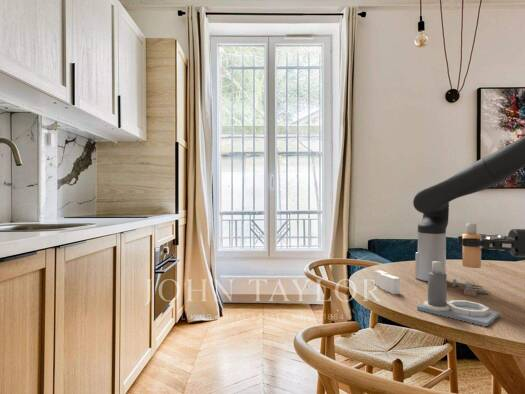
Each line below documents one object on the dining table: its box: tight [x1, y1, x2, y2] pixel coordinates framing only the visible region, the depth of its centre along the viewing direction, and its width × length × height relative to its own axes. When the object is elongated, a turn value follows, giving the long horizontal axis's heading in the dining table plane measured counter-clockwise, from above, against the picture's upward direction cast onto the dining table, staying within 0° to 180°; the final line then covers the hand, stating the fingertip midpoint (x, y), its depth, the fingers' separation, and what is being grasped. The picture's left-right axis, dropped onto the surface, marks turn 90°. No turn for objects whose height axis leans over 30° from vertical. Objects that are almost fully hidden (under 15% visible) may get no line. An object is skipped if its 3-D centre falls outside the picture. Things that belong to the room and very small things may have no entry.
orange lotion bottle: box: [461, 222, 482, 269], centre depth 94 cm, size 4×4×12 cm
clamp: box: [451, 278, 488, 297], centre depth 110 cm, size 15×2×10 cm
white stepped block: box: [373, 269, 401, 295], centre depth 111 cm, size 15×11×6 cm
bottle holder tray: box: [416, 261, 501, 327], centre depth 87 cm, size 16×11×13 cm
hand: (460, 241), depth 95 cm, fingers closed on orange lotion bottle, 4 cm apart
